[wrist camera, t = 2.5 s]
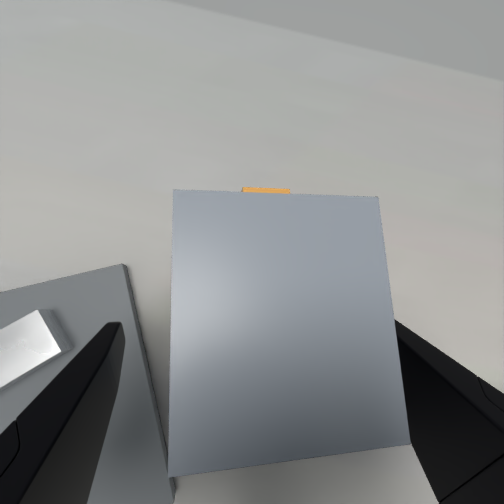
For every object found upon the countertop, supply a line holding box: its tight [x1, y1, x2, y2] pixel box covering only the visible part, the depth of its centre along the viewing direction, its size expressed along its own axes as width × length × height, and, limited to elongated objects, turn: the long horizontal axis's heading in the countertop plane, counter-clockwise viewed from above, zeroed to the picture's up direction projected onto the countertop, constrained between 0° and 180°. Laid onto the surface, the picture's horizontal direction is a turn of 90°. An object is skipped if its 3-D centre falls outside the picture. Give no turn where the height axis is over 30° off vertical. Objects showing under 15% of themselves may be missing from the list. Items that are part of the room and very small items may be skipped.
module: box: [168, 187, 411, 478], centre depth 12 cm, size 6×5×12 cm
